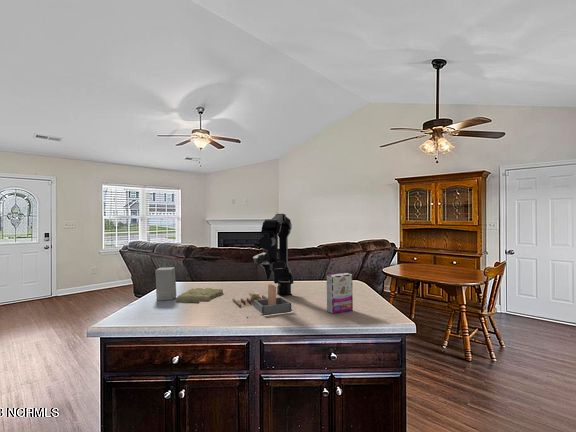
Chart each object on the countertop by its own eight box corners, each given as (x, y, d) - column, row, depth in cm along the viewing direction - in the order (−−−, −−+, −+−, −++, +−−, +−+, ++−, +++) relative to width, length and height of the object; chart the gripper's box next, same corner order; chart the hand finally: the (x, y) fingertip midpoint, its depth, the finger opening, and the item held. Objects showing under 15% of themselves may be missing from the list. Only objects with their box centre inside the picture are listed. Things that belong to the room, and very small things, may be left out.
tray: (280, 305, 154) (280, 297, 154) (291, 311, 143) (291, 303, 143) (253, 308, 148) (253, 300, 148) (262, 315, 137) (262, 306, 137)
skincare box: (176, 297, 168) (176, 266, 169) (172, 300, 161) (172, 269, 161) (160, 297, 168) (160, 266, 168) (154, 300, 161) (155, 269, 161)
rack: (263, 299, 164) (263, 294, 164) (272, 305, 154) (272, 299, 154) (232, 302, 158) (232, 297, 158) (239, 309, 147) (239, 303, 147)
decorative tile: (175, 302, 159) (175, 295, 159) (191, 293, 179) (191, 286, 179) (211, 304, 157) (211, 296, 157) (224, 294, 177) (224, 287, 177)
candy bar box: (346, 308, 149) (346, 272, 149) (353, 310, 145) (353, 274, 145) (325, 311, 144) (326, 274, 144) (332, 314, 140) (332, 276, 140)
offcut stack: (257, 300, 160) (257, 291, 160) (260, 302, 155) (260, 294, 155) (249, 301, 158) (249, 292, 158) (252, 303, 153) (252, 294, 153)
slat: (270, 306, 148) (271, 284, 149) (276, 309, 143) (276, 286, 143) (268, 306, 148) (268, 284, 148) (273, 309, 142) (273, 287, 143)
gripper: (248, 245, 152) (248, 279, 152) (262, 249, 135) (262, 287, 135) (270, 245, 157) (270, 277, 157) (286, 248, 140) (286, 284, 140)
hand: (271, 281), depth 147 cm, fingers open, 9 cm apart
